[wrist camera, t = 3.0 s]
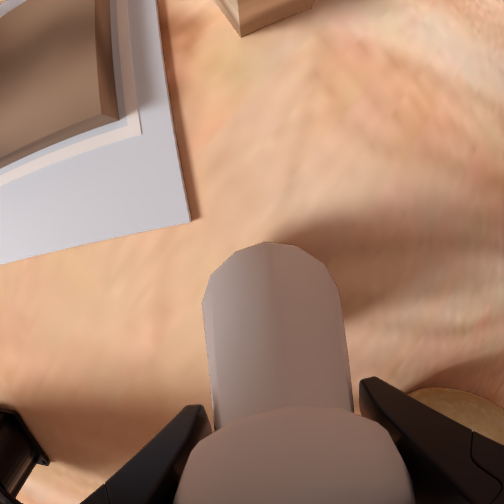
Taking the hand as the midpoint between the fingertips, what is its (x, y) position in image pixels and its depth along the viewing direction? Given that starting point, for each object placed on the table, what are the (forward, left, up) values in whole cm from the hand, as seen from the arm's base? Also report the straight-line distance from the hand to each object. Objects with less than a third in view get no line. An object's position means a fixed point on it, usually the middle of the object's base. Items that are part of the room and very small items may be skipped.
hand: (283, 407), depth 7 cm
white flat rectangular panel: (+13, +10, -8) cm, 18 cm away
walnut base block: (+14, +10, -8) cm, 19 cm away
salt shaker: (0, 0, -9) cm, 9 cm away
